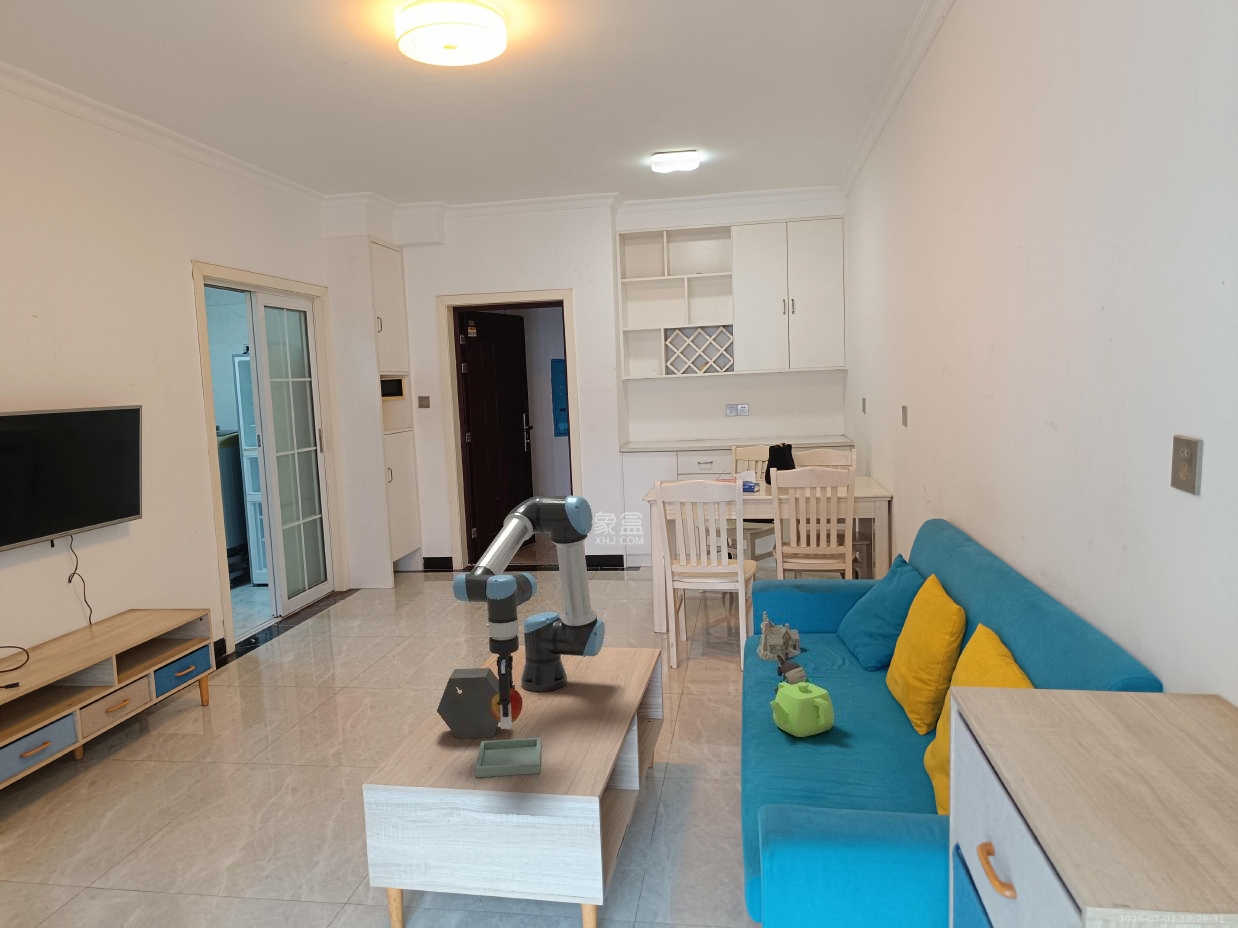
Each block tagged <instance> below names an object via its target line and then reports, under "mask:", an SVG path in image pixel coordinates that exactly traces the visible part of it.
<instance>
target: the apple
mask: <svg viewBox="0 0 1238 928" xmlns="http://www.w3.org/2000/svg"><path fill="white" fill-rule="evenodd" d="M504 700H506V699H504ZM497 702H499V693H498V694H496V695H495V696H494V697H493V698H492V700H491V710H492V713H493V716H494V717H495V719H496V720H497V721H498V722H499V723H500V724H501V717H500V705H497ZM510 702H511V718H512V724H513V723H515V722H516V721H517V720H518V718H519V717H520V716H521V713H522V711H523V710H522V709H523V703H524V702H523V697H522V695H521V694H520V693H519V691H518V690H517V689H516V688H515V689H513V688H510Z"/></svg>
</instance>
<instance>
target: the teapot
mask: <svg viewBox="0 0 1238 928" xmlns="http://www.w3.org/2000/svg"><path fill="white" fill-rule="evenodd" d="M777 687H778V692H777V694H776V695H775V696H776V697H775V700H772V701H770V702H769V705H770V706H771V709H772V711H773V712H772V713H773V714H772V718H773V721H774V723H775V726H776V727H778V728H779V729H781V730H783V731H784V732H786V733H788V734H790V735H792V736H794V737H797V738H807V737H809V736H815V735H817V734H821V733H823V732H826V731H828V730H830V729H832V727H833V725H834V723H835V713H834V708H833V707H834V706H833V701H832V699H831V696H830V694H829V691H828V690H826V689H825V688H823V687H820V686H818V685H815V684H814V683H813V684H811V683H805V682H800V683H797V684H794V685H790V684H788V683H786V681H782V683H781V682H779V683H778V686H777Z"/></svg>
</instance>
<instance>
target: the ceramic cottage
mask: <svg viewBox="0 0 1238 928" xmlns="http://www.w3.org/2000/svg"><path fill="white" fill-rule="evenodd" d="M762 614H763V616H762V619H763V621H762V622H761V623H760V629H761V635H760V639H759V640H760V641H759V645H758V646H757V649H756V652H757V655H758V656H759V658H760V660H763V661H768V662H771V661H772V662H776V661H778V662H779V660H778V658H777V655H779V656H781V657H782V658H783V660H784V661H785V658H784V655H785V653H786V652H787V653H788V655H789V659H790V658H792V657H795V656H797V655H799V654H801V649H800V644H801V641H800V635H799V631H798V629H790V624H789V623H785V624H784V625H785V626H783V625H782V624H780V625H775V623H773V622H772V621H771V620H770V619H769V618H768V614H767V611H763V612H762Z"/></svg>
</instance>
